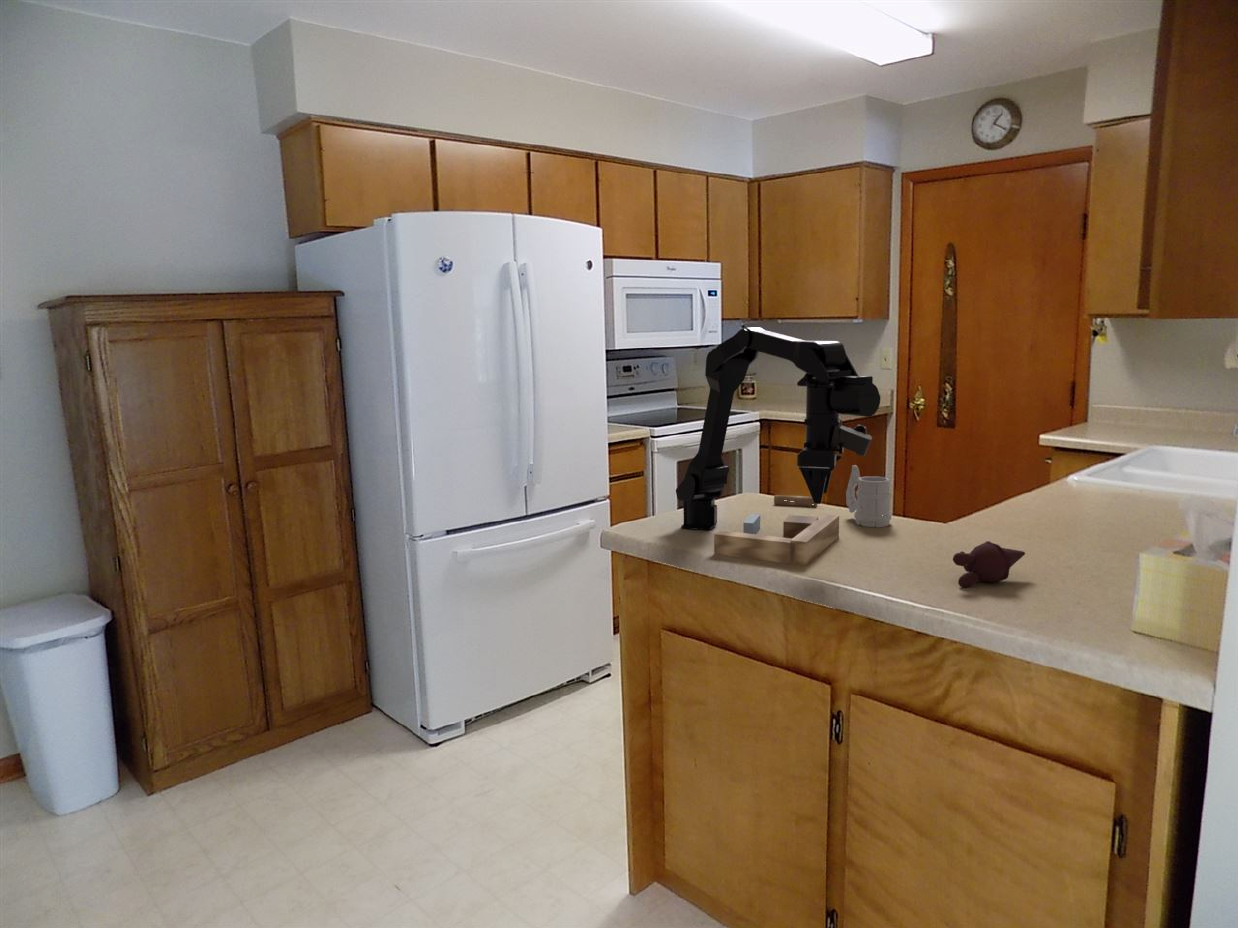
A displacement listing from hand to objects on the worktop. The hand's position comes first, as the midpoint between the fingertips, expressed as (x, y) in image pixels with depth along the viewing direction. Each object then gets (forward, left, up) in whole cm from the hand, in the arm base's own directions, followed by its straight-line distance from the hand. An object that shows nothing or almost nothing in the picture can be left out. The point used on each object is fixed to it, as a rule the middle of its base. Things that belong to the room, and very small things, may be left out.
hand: (820, 498), depth 147 cm
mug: (+6, +34, -12) cm, 37 cm away
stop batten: (-16, +18, -12) cm, 27 cm away
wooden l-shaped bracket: (-9, +10, -12) cm, 18 cm away
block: (-6, +17, -12) cm, 22 cm away
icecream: (+28, -3, -12) cm, 31 cm away
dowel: (-11, +46, -12) cm, 49 cm away
